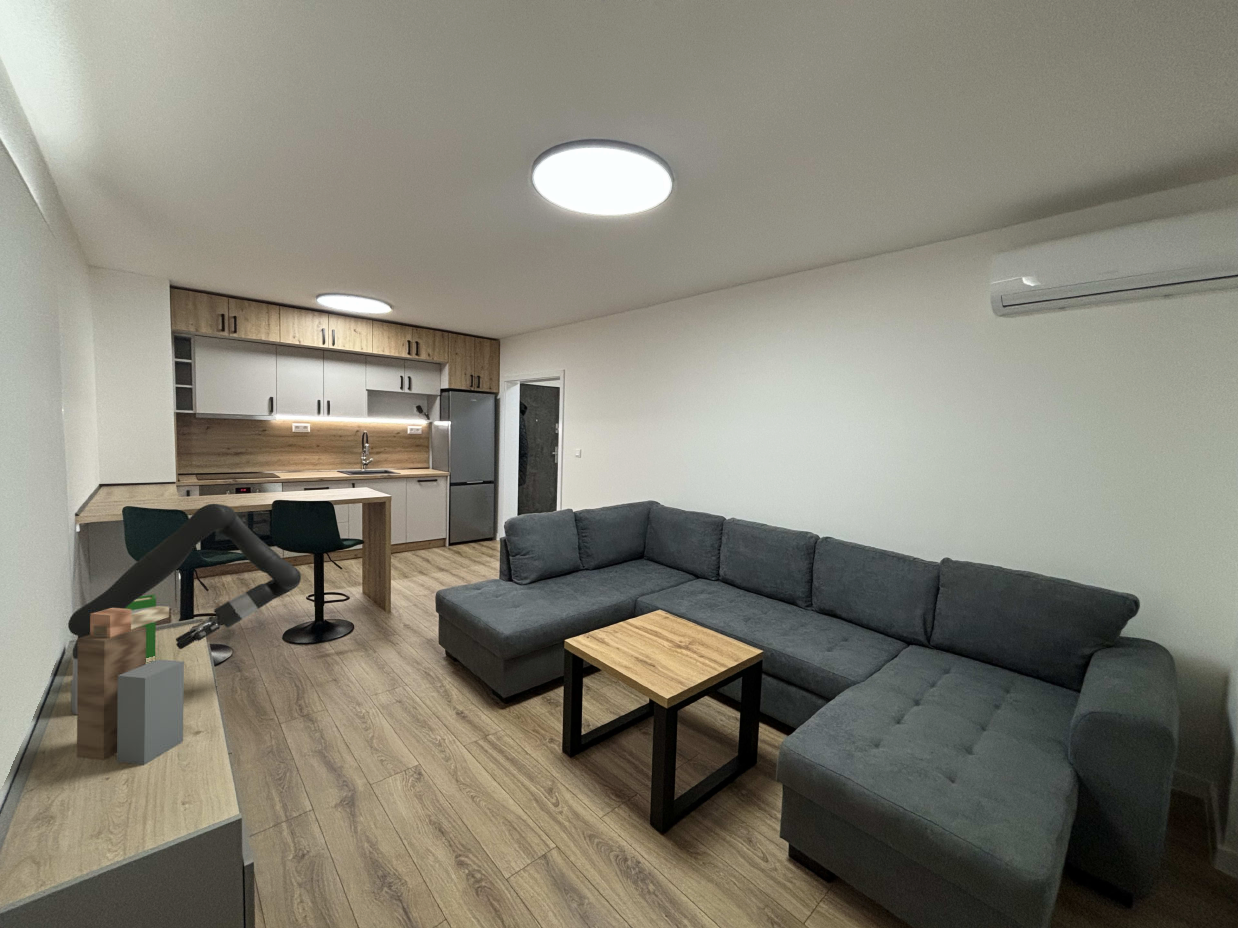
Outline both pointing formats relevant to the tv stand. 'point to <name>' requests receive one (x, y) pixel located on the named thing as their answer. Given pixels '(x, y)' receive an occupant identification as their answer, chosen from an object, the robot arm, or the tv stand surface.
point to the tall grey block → (150, 711)
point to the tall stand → (103, 688)
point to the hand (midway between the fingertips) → (177, 644)
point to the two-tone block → (123, 620)
